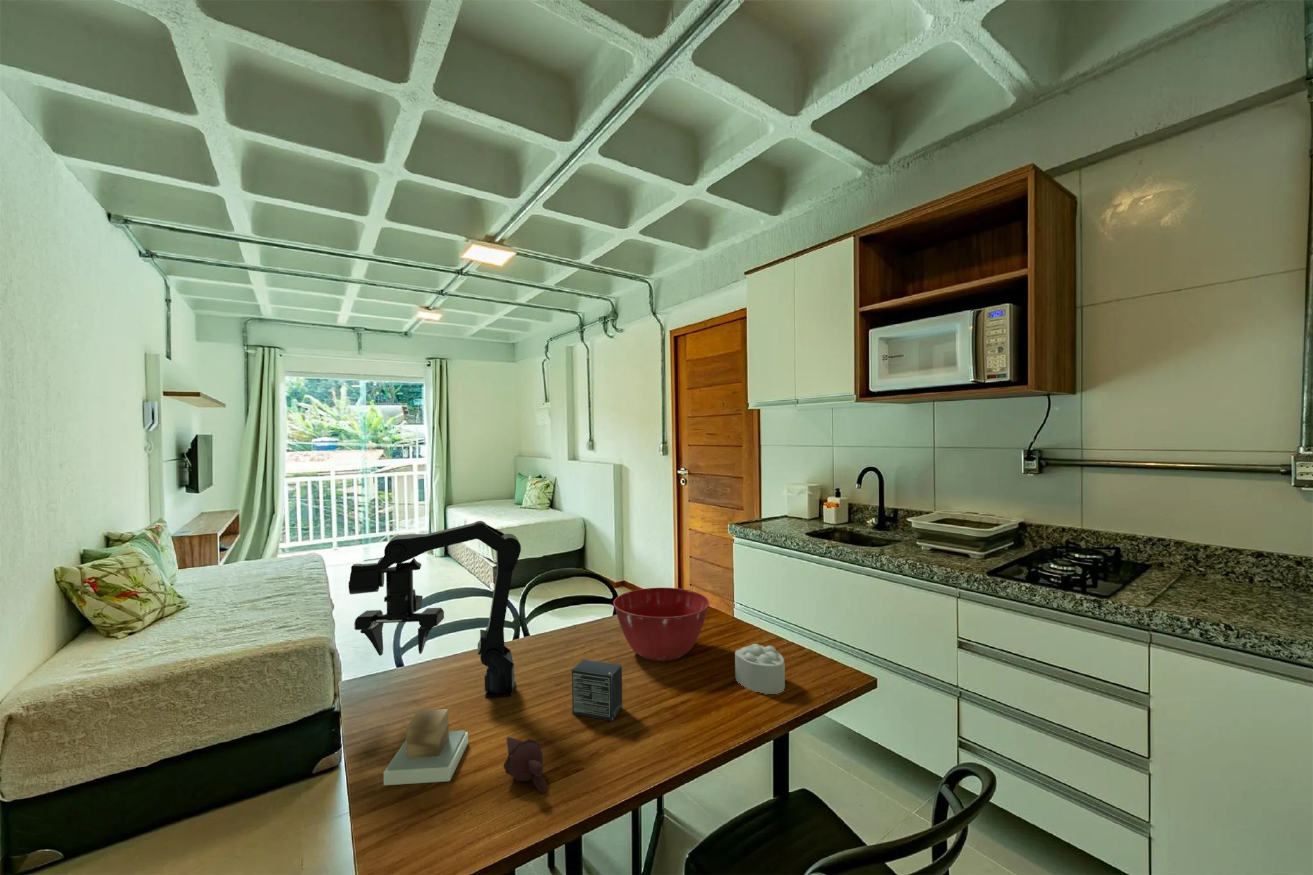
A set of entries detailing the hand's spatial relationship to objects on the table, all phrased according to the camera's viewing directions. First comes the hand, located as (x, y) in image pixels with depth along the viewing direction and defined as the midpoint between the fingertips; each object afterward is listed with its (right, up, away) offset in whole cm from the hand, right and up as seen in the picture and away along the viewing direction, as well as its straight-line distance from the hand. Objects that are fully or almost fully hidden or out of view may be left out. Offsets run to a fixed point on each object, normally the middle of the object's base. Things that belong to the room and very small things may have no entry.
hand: (401, 654), depth 123 cm
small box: (+47, -13, -2) cm, 49 cm away
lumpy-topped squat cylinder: (+89, -12, +10) cm, 90 cm away
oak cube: (+16, -10, -21) cm, 28 cm away
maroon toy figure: (+36, -13, -25) cm, 46 cm away
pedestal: (+16, -13, -21) cm, 29 cm away
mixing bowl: (+63, -12, +30) cm, 71 cm away
